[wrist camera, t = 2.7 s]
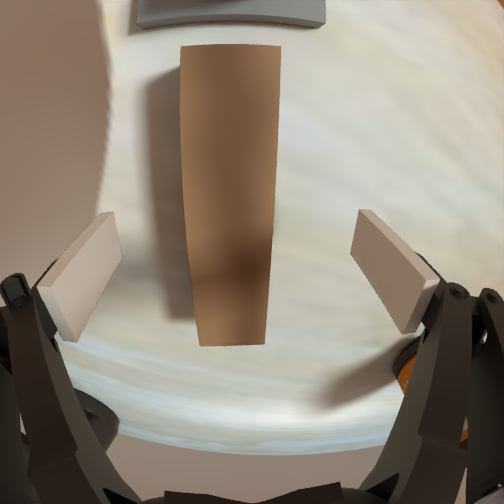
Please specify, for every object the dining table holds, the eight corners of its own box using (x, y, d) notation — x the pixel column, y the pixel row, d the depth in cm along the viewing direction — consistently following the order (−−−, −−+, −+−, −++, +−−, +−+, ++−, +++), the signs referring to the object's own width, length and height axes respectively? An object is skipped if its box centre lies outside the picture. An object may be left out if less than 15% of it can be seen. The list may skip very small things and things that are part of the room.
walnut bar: (202, 305, 25) (199, 346, 20) (192, 61, 15) (180, 46, 11) (257, 303, 25) (264, 344, 21) (267, 61, 15) (280, 46, 11)
